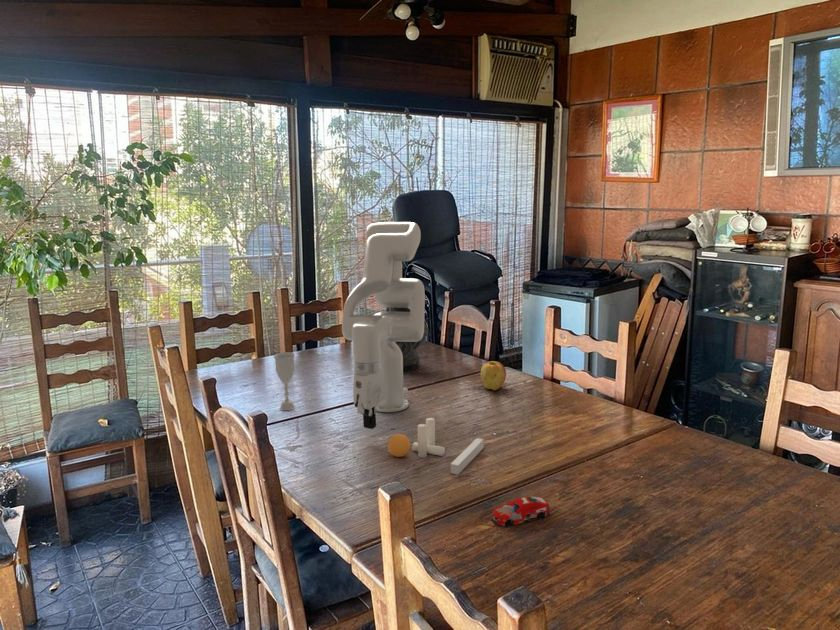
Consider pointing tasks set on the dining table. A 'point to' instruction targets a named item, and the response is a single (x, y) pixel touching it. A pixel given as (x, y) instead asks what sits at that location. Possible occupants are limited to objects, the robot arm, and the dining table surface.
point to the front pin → (430, 449)
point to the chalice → (285, 375)
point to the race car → (521, 511)
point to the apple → (493, 375)
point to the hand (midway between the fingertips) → (369, 427)
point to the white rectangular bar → (467, 456)
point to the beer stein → (410, 346)
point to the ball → (399, 445)
